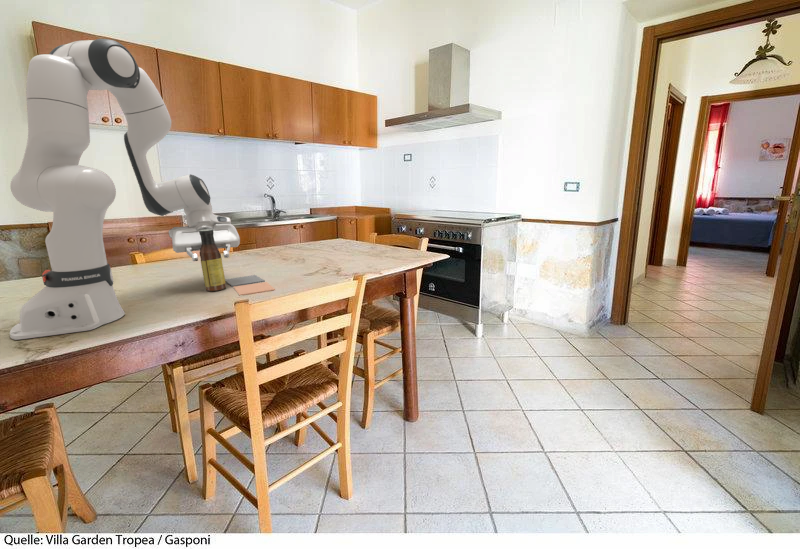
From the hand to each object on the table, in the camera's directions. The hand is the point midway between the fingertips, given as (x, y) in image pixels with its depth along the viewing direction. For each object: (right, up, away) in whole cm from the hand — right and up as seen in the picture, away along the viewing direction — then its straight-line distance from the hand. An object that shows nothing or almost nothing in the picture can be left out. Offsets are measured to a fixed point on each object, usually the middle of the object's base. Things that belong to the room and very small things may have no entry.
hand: (211, 258), depth 126 cm
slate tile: (+6, -8, +13) cm, 16 cm away
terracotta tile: (+13, -11, +3) cm, 17 cm away
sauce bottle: (0, -10, +3) cm, 11 cm away
